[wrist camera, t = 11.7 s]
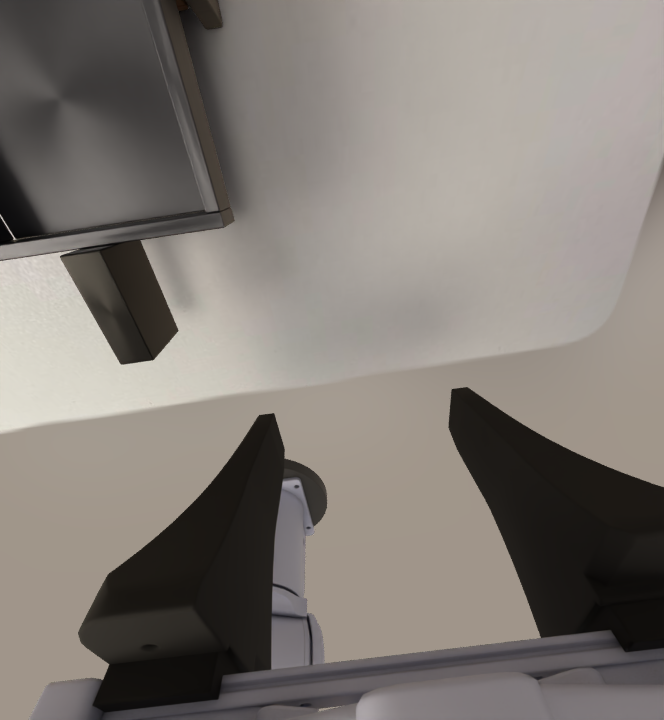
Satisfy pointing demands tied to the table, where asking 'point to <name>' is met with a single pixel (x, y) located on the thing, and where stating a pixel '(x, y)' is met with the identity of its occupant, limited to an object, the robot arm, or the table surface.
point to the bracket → (207, 12)
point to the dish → (104, 153)
